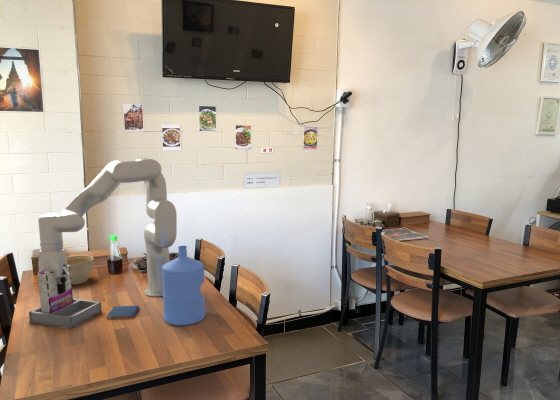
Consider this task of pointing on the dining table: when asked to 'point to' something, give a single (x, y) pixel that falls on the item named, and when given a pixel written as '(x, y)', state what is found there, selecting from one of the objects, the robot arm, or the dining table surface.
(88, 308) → the tray
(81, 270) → the planter bowl
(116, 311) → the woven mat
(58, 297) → the candy bar box
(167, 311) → the water jug
